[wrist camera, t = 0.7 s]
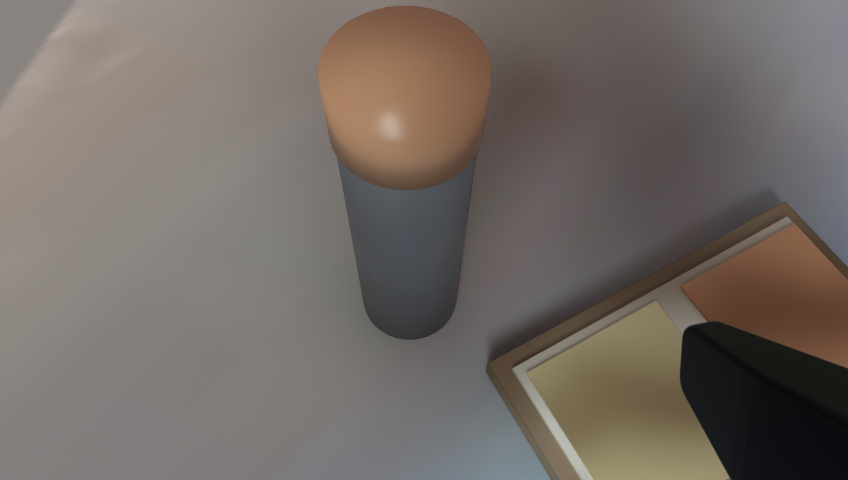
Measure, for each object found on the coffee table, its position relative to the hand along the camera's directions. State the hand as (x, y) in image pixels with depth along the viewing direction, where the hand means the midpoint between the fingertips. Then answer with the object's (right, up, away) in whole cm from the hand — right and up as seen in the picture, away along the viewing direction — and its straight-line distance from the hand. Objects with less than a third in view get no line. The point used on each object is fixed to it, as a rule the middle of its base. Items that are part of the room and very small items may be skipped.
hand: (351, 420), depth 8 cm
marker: (0, 0, +17) cm, 17 cm away
